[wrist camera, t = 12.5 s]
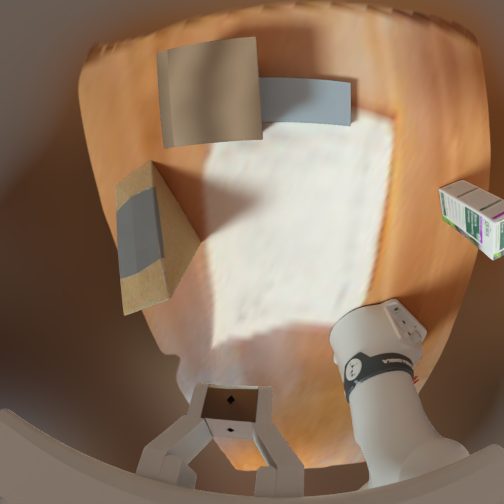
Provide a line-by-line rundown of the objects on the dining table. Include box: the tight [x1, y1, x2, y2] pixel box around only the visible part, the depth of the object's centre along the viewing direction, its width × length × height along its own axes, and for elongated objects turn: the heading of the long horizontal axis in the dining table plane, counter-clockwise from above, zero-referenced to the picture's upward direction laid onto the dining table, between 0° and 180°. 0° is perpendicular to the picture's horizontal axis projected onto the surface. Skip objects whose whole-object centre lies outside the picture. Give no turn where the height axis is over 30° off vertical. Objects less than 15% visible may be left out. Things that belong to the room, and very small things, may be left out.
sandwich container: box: [116, 160, 201, 316], centre depth 34 cm, size 9×15×15 cm, turn 28°
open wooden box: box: [157, 37, 263, 148], centre depth 27 cm, size 10×11×10 cm
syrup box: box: [439, 180, 504, 260], centre depth 28 cm, size 6×6×14 cm
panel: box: [259, 77, 351, 126], centre depth 31 cm, size 20×6×2 cm, turn 91°
